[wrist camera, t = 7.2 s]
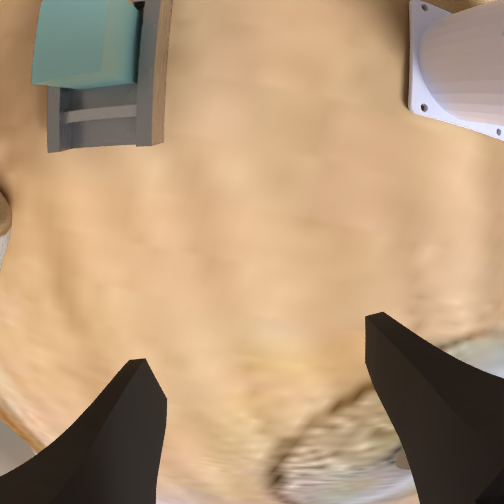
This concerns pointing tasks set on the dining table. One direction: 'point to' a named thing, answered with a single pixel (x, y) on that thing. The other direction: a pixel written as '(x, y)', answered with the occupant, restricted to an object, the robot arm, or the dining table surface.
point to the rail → (118, 96)
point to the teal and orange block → (86, 43)
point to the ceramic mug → (4, 226)
